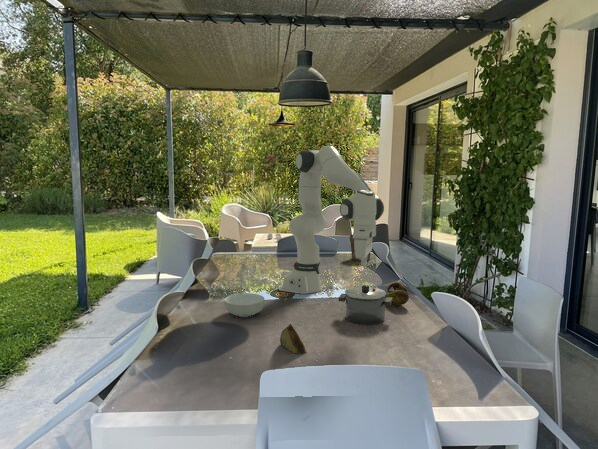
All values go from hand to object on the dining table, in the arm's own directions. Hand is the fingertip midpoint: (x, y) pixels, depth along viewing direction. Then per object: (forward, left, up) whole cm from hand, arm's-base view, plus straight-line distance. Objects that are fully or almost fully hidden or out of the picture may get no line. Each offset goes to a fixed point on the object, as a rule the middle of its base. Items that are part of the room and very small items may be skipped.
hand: (363, 265), depth 178 cm
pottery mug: (+10, +39, -24) cm, 46 cm away
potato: (+11, +25, -23) cm, 36 cm away
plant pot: (-22, +119, -23) cm, 123 cm away
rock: (-19, -34, -24) cm, 45 cm away
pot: (0, +4, -23) cm, 24 cm away
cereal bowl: (-50, -6, -24) cm, 55 cm away
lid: (0, +4, -13) cm, 14 cm away
